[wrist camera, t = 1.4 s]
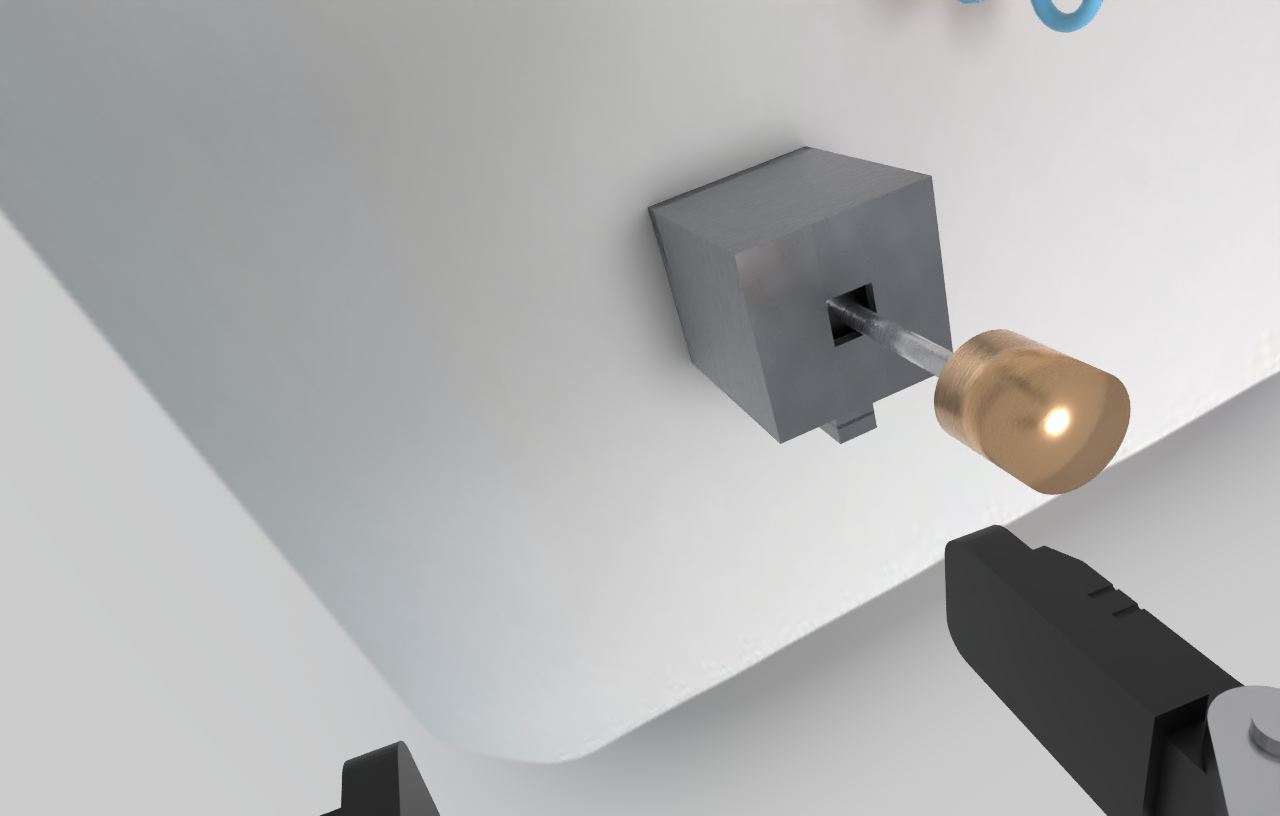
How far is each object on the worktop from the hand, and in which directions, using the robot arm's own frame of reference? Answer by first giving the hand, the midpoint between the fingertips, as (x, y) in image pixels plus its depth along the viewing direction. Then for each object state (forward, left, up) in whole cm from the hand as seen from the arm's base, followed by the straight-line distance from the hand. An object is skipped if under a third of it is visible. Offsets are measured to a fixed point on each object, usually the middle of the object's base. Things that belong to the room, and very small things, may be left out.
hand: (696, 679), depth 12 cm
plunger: (+7, +14, -24) cm, 29 cm away
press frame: (+8, +14, -32) cm, 36 cm away
